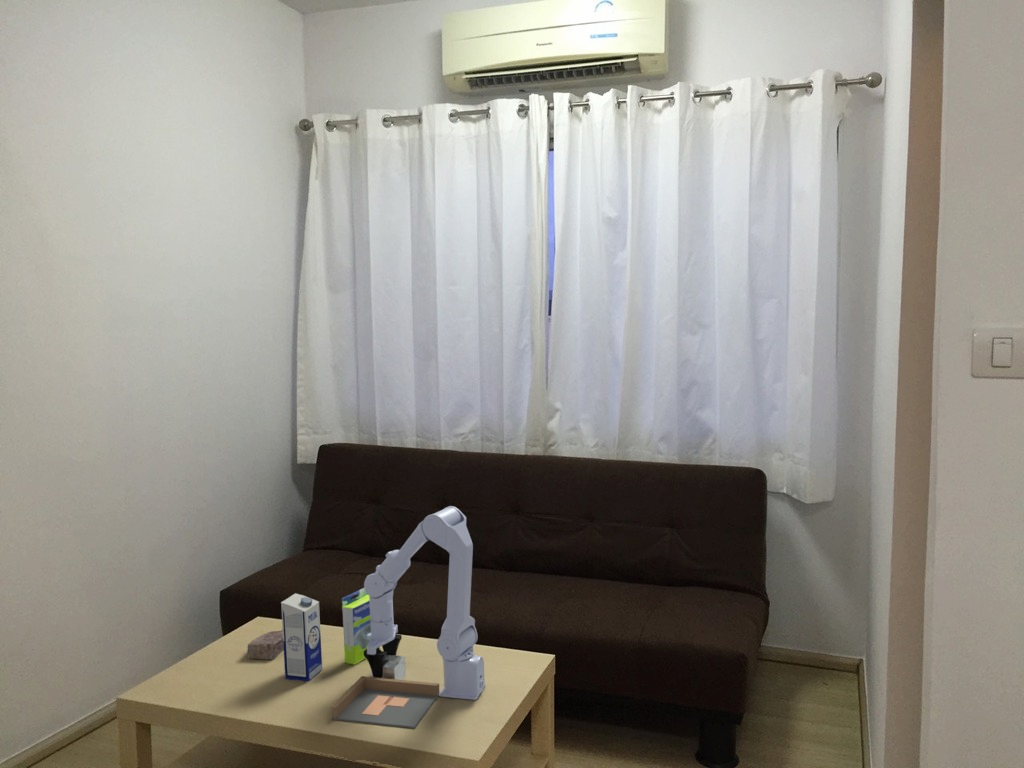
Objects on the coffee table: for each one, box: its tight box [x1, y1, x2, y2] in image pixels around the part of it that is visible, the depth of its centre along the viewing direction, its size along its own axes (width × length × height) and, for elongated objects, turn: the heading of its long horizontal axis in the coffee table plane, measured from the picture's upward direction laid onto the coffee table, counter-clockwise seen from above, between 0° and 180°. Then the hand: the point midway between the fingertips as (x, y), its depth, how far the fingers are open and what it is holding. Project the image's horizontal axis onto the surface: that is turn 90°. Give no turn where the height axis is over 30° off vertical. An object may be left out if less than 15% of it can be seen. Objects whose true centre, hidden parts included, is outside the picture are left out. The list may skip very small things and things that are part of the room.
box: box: [341, 587, 371, 665], centre depth 217 cm, size 10×4×17 cm, turn 151°
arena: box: [330, 675, 440, 730], centre depth 189 cm, size 20×16×3 cm
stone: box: [246, 629, 284, 660], centre depth 223 cm, size 12×9×5 cm
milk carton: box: [280, 592, 323, 682], centre depth 207 cm, size 7×7×20 cm
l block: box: [370, 654, 407, 680], centre depth 203 cm, size 8×7×5 cm
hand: (384, 670), depth 205 cm, fingers open, 7 cm apart
